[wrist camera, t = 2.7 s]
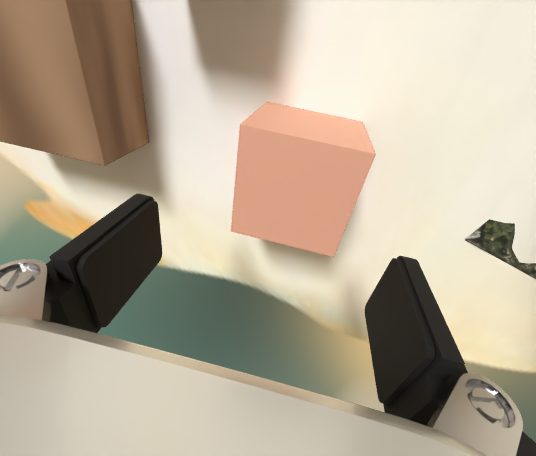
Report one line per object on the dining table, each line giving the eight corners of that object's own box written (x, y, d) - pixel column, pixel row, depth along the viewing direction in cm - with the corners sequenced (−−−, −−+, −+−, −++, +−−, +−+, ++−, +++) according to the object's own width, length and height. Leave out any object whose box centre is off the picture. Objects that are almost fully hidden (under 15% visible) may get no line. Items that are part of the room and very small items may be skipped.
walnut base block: (128, -46, 14) (45, -84, 10) (151, 141, 20) (104, 165, 16) (-37, -72, 15) (-176, -117, 11) (32, 115, 21) (-41, 132, 17)
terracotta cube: (362, 121, 16) (375, 154, 11) (333, 204, 19) (333, 257, 15) (267, 101, 16) (240, 124, 12) (255, 186, 20) (230, 231, 15)
